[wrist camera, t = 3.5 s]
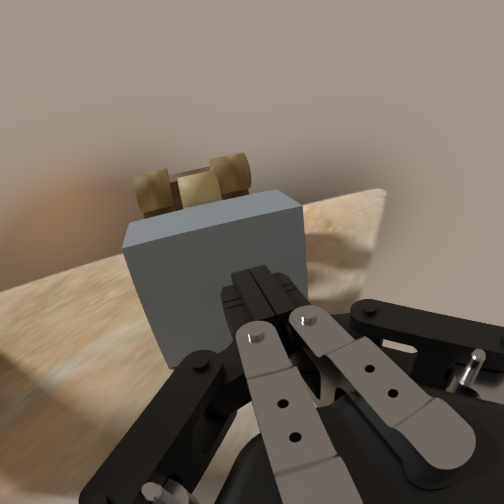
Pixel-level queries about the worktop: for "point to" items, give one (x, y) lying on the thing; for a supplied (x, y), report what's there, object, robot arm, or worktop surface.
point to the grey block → (209, 259)
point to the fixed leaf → (166, 187)
